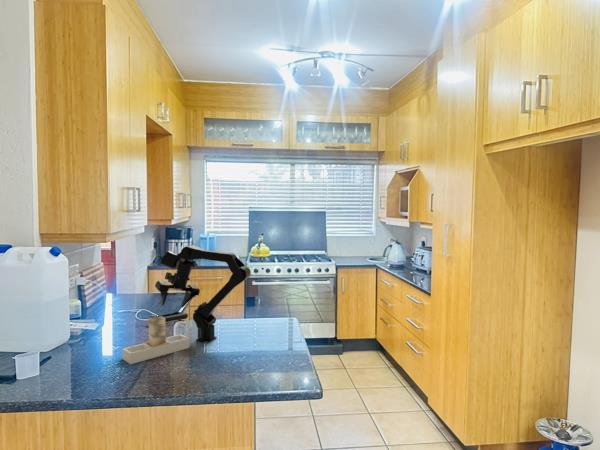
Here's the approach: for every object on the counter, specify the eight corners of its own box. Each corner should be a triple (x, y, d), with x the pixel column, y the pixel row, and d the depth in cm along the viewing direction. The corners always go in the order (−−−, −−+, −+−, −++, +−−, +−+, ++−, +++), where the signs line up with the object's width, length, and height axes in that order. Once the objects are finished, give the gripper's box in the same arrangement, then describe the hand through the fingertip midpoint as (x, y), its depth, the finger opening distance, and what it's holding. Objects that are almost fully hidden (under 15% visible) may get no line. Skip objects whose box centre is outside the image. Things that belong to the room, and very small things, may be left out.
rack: (180, 343, 168) (180, 333, 168) (189, 347, 163) (189, 337, 163) (122, 358, 151) (122, 347, 151) (130, 364, 146) (130, 352, 146)
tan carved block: (161, 347, 160) (160, 316, 160) (165, 350, 157) (165, 318, 157) (149, 350, 157) (148, 318, 156) (153, 353, 154) (152, 320, 153)
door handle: (138, 315, 202) (151, 320, 191) (175, 309, 216) (189, 313, 204) (139, 322, 202) (151, 327, 191) (176, 315, 216) (190, 319, 204)
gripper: (195, 269, 186) (185, 300, 187) (156, 263, 174) (146, 296, 175) (205, 278, 177) (194, 310, 178) (164, 272, 165) (153, 307, 166)
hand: (172, 306), depth 175 cm, fingers open, 9 cm apart
